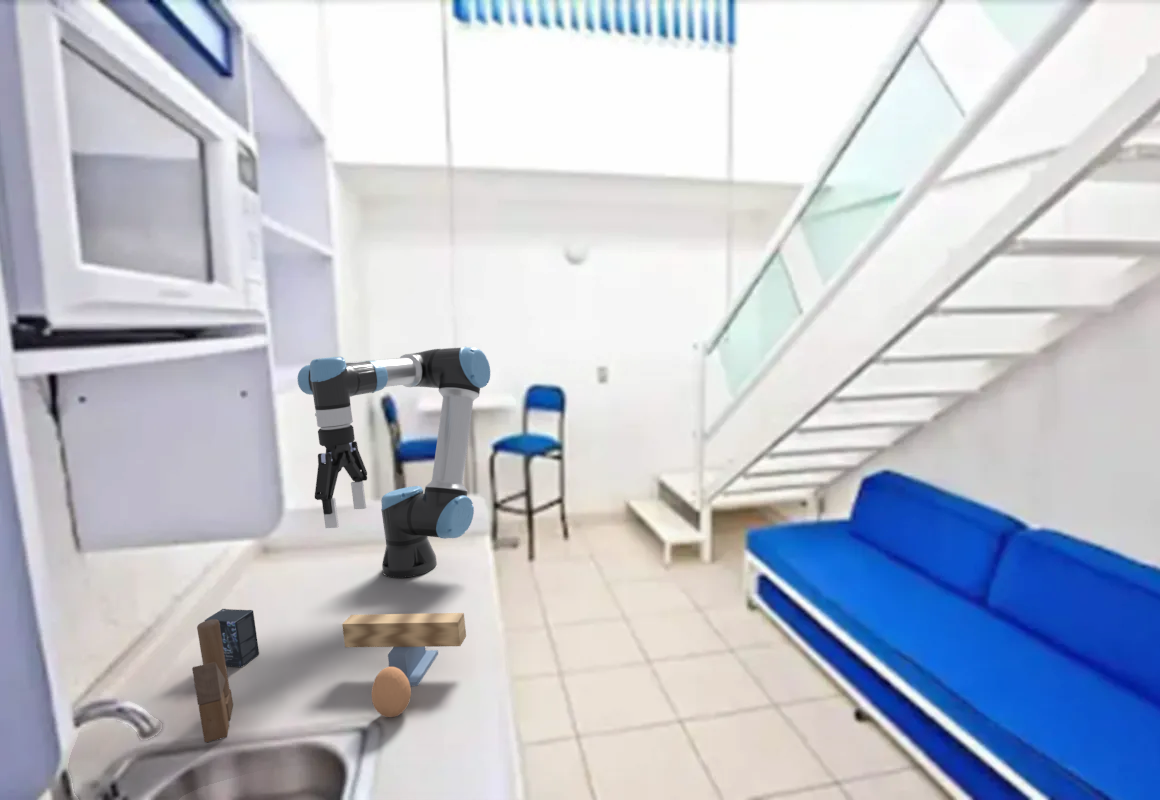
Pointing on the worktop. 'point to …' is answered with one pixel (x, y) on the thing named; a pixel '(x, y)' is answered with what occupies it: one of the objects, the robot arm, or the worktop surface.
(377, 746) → the worktop surface
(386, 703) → the egg
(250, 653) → the box
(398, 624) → the oak bar
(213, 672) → the wooden block
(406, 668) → the fulcrum
